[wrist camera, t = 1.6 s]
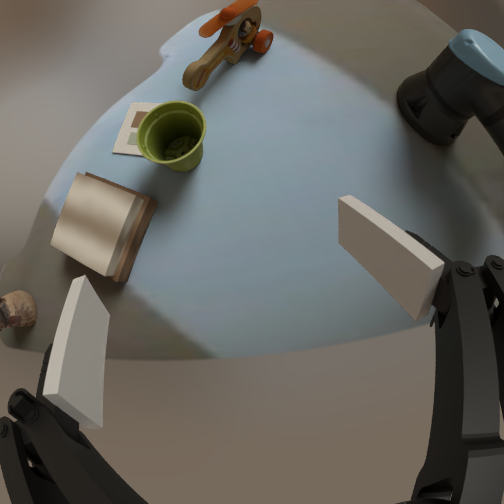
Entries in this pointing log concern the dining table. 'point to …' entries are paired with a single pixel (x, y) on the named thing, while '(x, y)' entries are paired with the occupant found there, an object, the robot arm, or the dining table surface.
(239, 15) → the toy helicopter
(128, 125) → the page
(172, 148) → the plant pot
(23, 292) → the figurine
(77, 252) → the stacked square slabs
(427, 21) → the dining table surface
